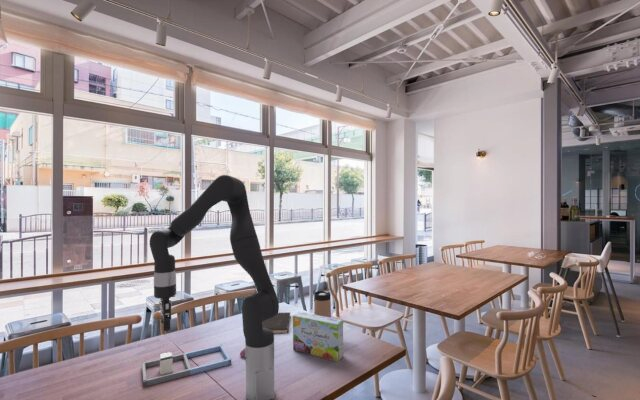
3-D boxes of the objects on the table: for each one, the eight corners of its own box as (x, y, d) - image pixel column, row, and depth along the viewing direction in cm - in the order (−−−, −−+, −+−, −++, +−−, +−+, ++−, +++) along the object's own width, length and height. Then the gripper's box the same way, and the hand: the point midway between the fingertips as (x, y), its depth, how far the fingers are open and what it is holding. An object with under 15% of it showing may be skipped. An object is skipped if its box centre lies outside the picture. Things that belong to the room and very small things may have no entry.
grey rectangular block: (172, 372, 124) (172, 355, 123) (160, 375, 122) (160, 358, 122) (171, 367, 127) (171, 351, 127) (159, 370, 125) (159, 354, 125)
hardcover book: (290, 316, 181) (290, 312, 181) (287, 334, 158) (287, 329, 158) (260, 317, 180) (260, 312, 180) (253, 334, 157) (253, 330, 157)
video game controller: (247, 361, 134) (255, 347, 133) (238, 356, 134) (245, 341, 134) (257, 350, 143) (263, 336, 143) (248, 345, 144) (254, 331, 143)
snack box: (292, 350, 140) (291, 315, 139) (299, 345, 144) (298, 310, 144) (338, 362, 130) (338, 323, 129) (344, 356, 135) (343, 318, 134)
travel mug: (316, 341, 149) (316, 296, 148) (312, 334, 156) (312, 291, 156) (333, 338, 151) (332, 294, 150) (328, 332, 158) (327, 290, 158)
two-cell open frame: (231, 364, 129) (231, 359, 129) (143, 386, 114) (143, 381, 114) (221, 348, 142) (221, 344, 142) (142, 367, 127) (141, 362, 127)
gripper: (178, 286, 120) (179, 331, 120) (173, 277, 132) (174, 318, 132) (155, 289, 116) (155, 335, 116) (152, 280, 128) (153, 322, 129)
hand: (165, 326), depth 124 cm, fingers open, 8 cm apart
